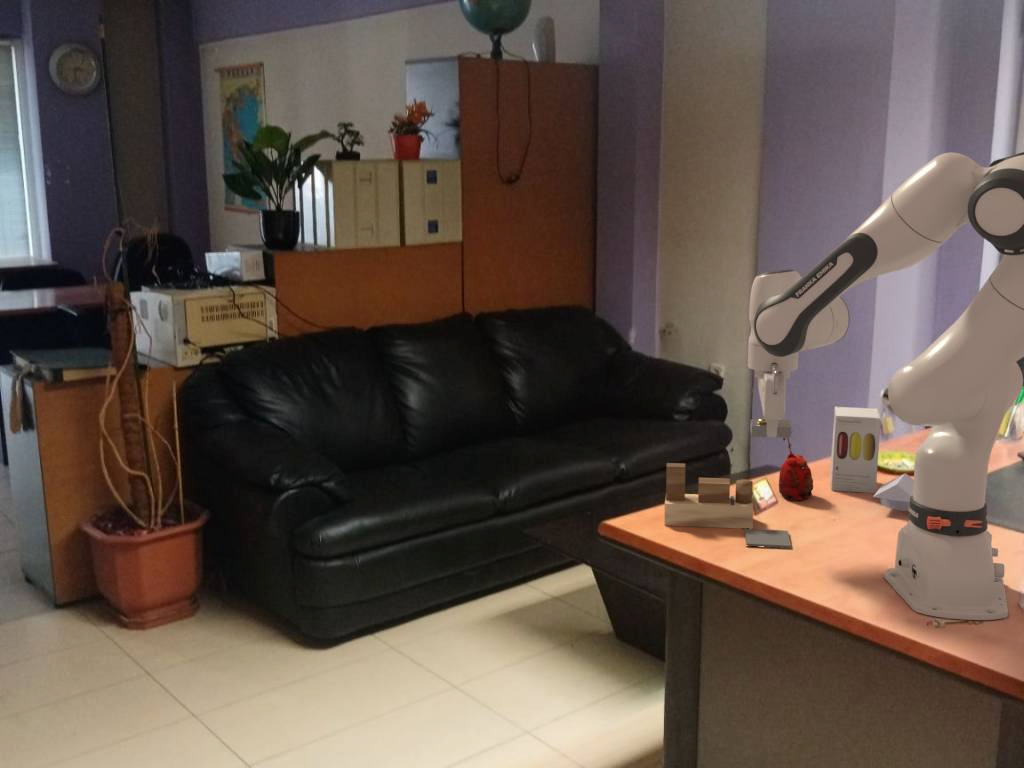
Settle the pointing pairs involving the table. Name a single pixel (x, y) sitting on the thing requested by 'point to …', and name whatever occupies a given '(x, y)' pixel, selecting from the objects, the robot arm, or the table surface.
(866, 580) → the table surface
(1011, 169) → the robot arm
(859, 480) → the supplement box
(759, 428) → the lever cap
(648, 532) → the table surface
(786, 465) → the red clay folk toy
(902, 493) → the white house model
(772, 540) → the bench mat
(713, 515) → the wooden block toy
